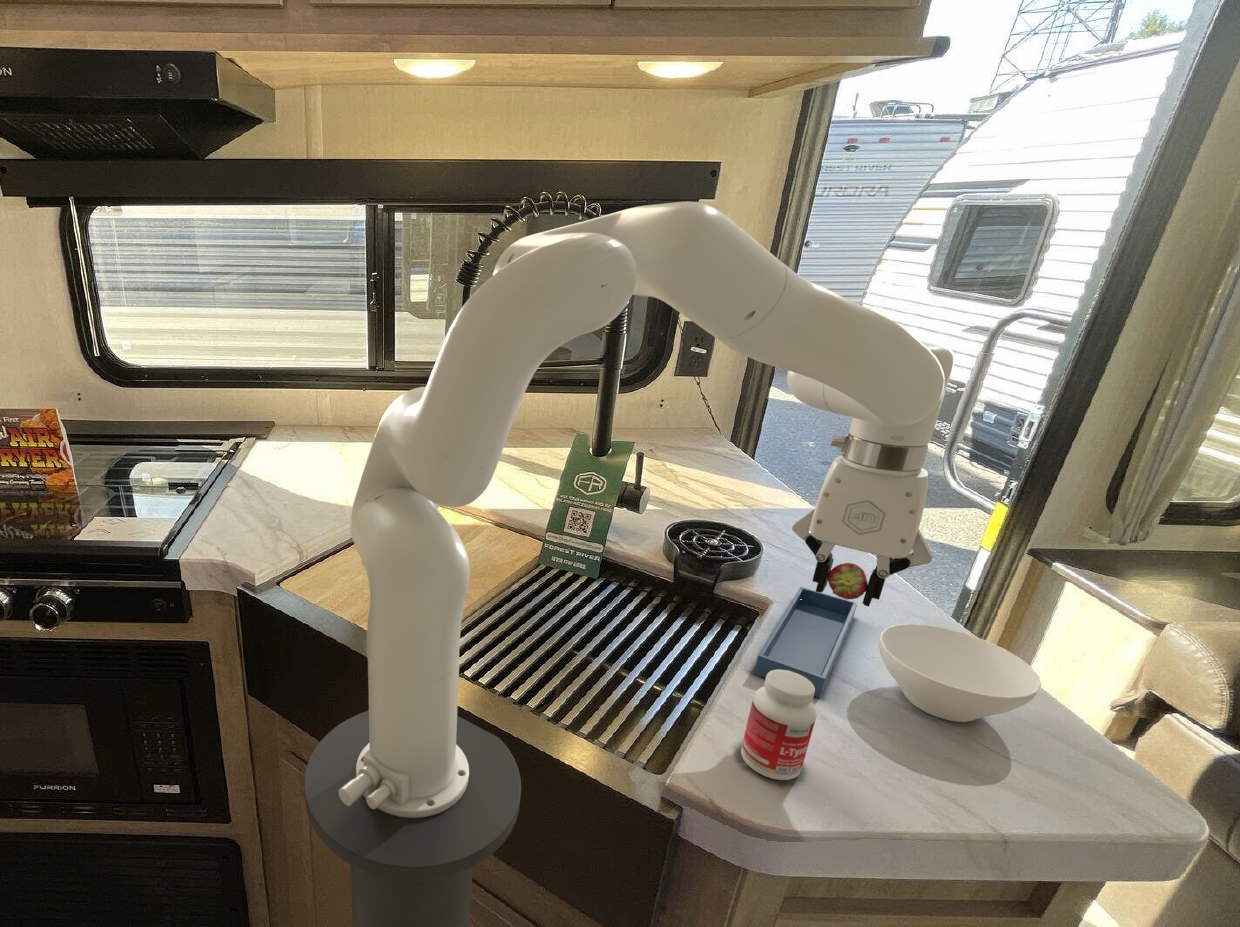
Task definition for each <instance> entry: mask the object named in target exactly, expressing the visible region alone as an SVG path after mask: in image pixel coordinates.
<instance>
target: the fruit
mask: <svg viewBox="0 0 1240 927" xmlns="http://www.w3.org/2000/svg"><path fill="white" fill-rule="evenodd" d="M868 582H869V581H868V579H867V574H866V572H865V571H864V569H863V568H862V567H860V566H859V565H857V564H856V563H852V562H844V563H840V564H838V565H836V566H834V567H833V568H831V571H830V572H829V574H828V585H829V588H830V589H831V591H832V594H833V595H835V596H836V597H839V598H843V599H846V600H857V599H858V598H860V597H861V596H863V595H865V593H866V589H867V586H868Z"/></svg>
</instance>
